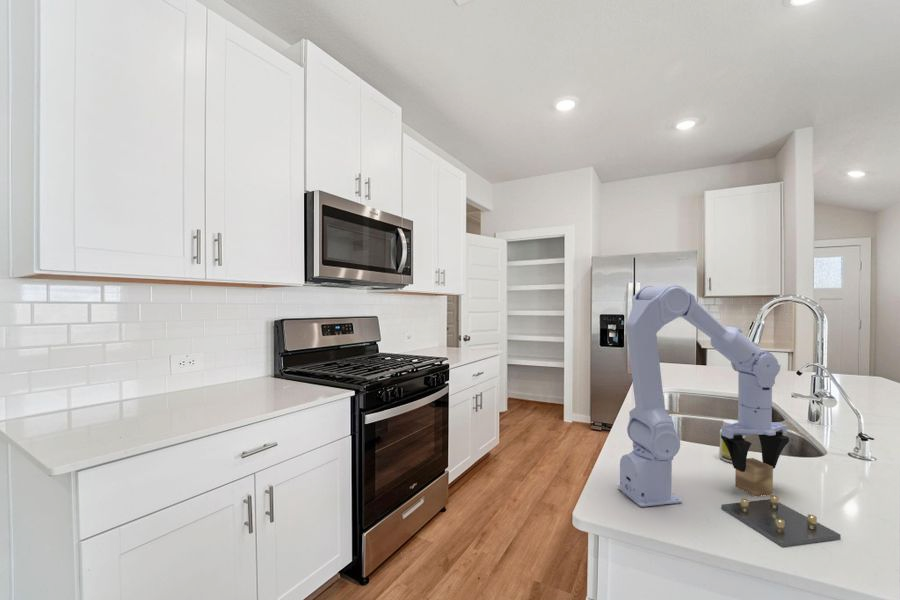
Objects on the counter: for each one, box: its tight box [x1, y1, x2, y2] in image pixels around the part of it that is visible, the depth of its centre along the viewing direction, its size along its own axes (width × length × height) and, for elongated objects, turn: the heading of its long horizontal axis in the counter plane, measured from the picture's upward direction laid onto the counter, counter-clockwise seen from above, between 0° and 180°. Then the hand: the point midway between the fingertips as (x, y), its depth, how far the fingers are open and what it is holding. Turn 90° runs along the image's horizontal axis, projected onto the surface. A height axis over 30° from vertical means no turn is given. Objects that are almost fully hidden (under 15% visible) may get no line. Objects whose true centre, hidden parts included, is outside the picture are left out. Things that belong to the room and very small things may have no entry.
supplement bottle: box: [718, 419, 747, 464], centre depth 100 cm, size 5×5×10 cm
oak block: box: [734, 457, 774, 497], centre depth 85 cm, size 4×4×6 cm
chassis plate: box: [720, 495, 842, 548], centre depth 73 cm, size 12×12×3 cm
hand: (754, 468), depth 85 cm, fingers open, 7 cm apart
